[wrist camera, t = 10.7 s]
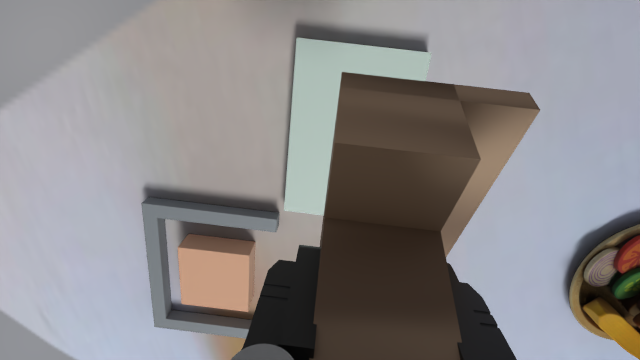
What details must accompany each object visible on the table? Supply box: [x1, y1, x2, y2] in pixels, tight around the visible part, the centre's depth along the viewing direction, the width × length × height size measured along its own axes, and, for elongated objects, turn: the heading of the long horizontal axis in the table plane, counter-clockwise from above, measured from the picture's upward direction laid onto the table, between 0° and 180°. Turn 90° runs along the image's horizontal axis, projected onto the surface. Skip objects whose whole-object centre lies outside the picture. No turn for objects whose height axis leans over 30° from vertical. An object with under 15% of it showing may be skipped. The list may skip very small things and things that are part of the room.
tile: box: [178, 234, 255, 312], centre depth 30 cm, size 6×6×2 cm
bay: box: [142, 197, 279, 338], centre depth 30 cm, size 13×11×1 cm
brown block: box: [309, 72, 540, 360], centre depth 8 cm, size 8×5×11 cm, turn 174°
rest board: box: [284, 38, 431, 215], centre depth 25 cm, size 13×9×1 cm
